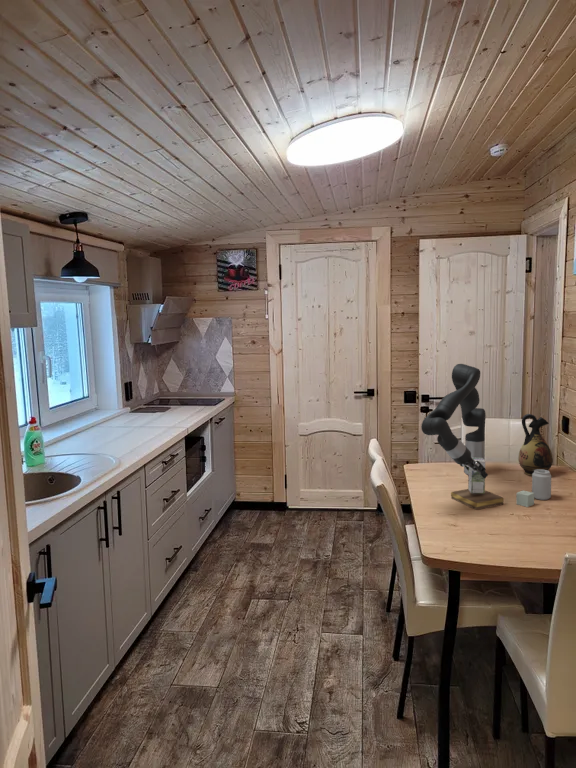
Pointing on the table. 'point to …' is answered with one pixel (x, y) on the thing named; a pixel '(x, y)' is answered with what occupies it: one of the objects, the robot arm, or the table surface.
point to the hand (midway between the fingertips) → (479, 474)
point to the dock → (477, 499)
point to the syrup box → (476, 479)
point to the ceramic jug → (534, 447)
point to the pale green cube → (525, 498)
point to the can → (541, 484)
